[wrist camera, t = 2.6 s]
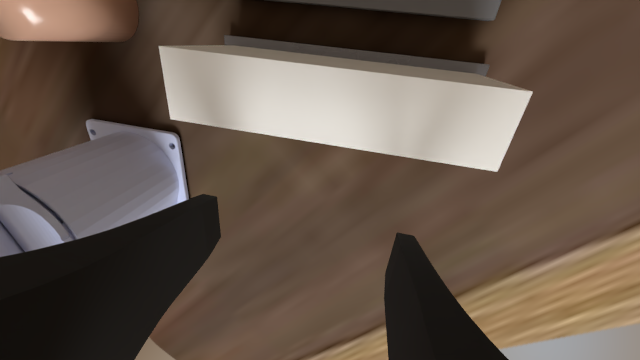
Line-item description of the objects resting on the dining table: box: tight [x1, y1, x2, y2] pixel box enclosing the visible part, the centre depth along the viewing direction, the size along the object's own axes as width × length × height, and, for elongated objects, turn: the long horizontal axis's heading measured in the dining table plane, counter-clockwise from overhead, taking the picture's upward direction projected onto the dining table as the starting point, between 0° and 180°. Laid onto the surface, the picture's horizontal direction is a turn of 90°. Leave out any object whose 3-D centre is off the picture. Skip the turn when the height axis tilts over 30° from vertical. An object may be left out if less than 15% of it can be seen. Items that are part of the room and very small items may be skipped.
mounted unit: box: [159, 35, 533, 172], centre depth 14 cm, size 4×15×7 cm, turn 84°
